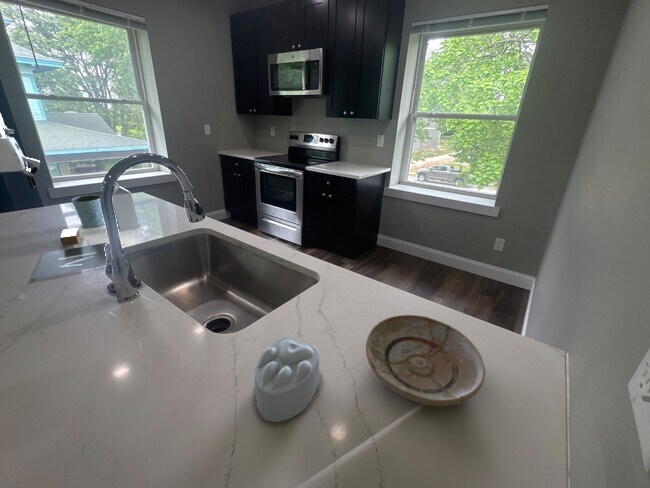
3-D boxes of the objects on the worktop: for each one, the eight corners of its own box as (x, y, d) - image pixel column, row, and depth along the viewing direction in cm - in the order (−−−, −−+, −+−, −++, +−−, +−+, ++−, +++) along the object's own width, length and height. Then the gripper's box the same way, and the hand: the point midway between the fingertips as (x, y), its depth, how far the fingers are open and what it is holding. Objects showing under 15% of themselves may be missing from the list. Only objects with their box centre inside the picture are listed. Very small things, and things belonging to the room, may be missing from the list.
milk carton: (135, 222, 132) (124, 180, 124) (140, 227, 128) (129, 183, 120) (116, 226, 128) (104, 182, 120) (120, 231, 123) (108, 186, 115)
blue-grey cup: (103, 218, 135) (96, 193, 130) (113, 224, 130) (105, 197, 125) (76, 225, 128) (67, 198, 123) (86, 231, 122) (76, 203, 117)
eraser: (79, 246, 110) (75, 235, 108) (64, 249, 107) (59, 237, 105) (81, 238, 116) (78, 228, 114) (67, 241, 113) (62, 230, 112)
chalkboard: (31, 283, 87) (30, 280, 87) (44, 255, 103) (43, 252, 102) (112, 266, 97) (111, 264, 97) (113, 244, 112) (113, 241, 112)
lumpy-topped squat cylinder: (324, 376, 61) (326, 344, 57) (292, 433, 50) (291, 398, 46) (281, 358, 64) (279, 327, 61) (242, 408, 54) (238, 374, 50)
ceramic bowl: (360, 328, 74) (361, 311, 72) (454, 332, 74) (459, 316, 72) (369, 415, 53) (372, 396, 51) (502, 422, 53) (510, 403, 51)
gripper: (31, 131, 96) (50, 184, 103) (-47, 132, 87) (-20, 189, 95) (26, 133, 90) (46, 189, 97) (-59, 135, 82) (-29, 195, 89)
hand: (14, 189), depth 96 cm, fingers open, 9 cm apart
